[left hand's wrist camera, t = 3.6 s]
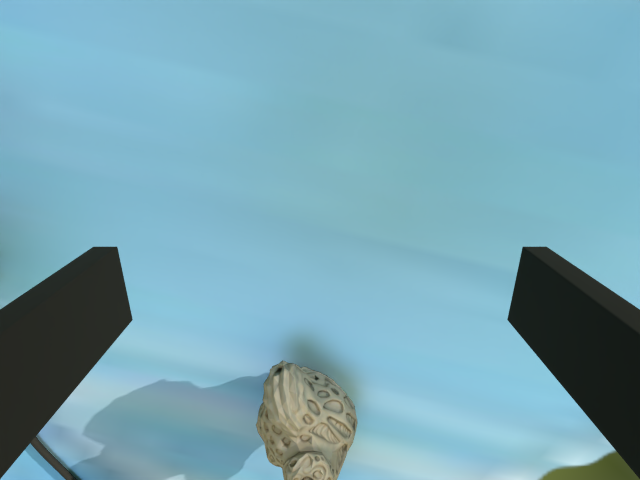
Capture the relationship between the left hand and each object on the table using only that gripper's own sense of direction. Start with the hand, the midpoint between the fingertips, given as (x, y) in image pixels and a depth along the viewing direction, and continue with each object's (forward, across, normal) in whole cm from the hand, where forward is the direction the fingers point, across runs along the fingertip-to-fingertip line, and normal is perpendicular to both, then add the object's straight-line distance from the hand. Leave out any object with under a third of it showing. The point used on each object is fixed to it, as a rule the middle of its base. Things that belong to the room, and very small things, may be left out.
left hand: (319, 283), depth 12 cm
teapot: (+28, -1, -31) cm, 42 cm away
